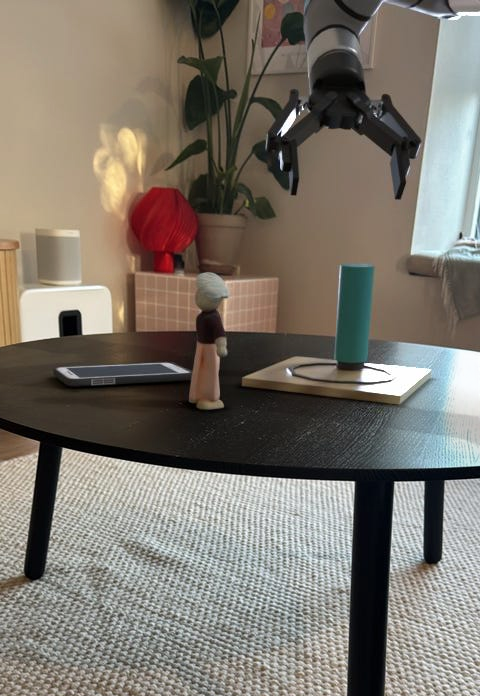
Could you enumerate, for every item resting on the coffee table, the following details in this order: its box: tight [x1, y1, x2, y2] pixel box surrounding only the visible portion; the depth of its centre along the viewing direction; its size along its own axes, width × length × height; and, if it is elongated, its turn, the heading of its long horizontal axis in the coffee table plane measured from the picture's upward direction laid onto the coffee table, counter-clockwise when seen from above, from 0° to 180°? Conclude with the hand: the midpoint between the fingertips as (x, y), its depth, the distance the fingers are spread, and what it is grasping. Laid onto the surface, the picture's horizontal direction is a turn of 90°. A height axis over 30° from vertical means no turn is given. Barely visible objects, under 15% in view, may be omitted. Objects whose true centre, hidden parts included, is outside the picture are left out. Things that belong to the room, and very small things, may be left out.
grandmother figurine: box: [188, 271, 231, 411], centre depth 73 cm, size 8×4×13 cm, turn 30°
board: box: [241, 355, 432, 406], centre depth 89 cm, size 18×18×1 cm
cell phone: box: [53, 361, 193, 388], centre depth 86 cm, size 8×15×1 cm, turn 116°
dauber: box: [333, 262, 376, 370], centre depth 90 cm, size 4×4×12 cm
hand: (347, 189), depth 95 cm, fingers open, 13 cm apart
